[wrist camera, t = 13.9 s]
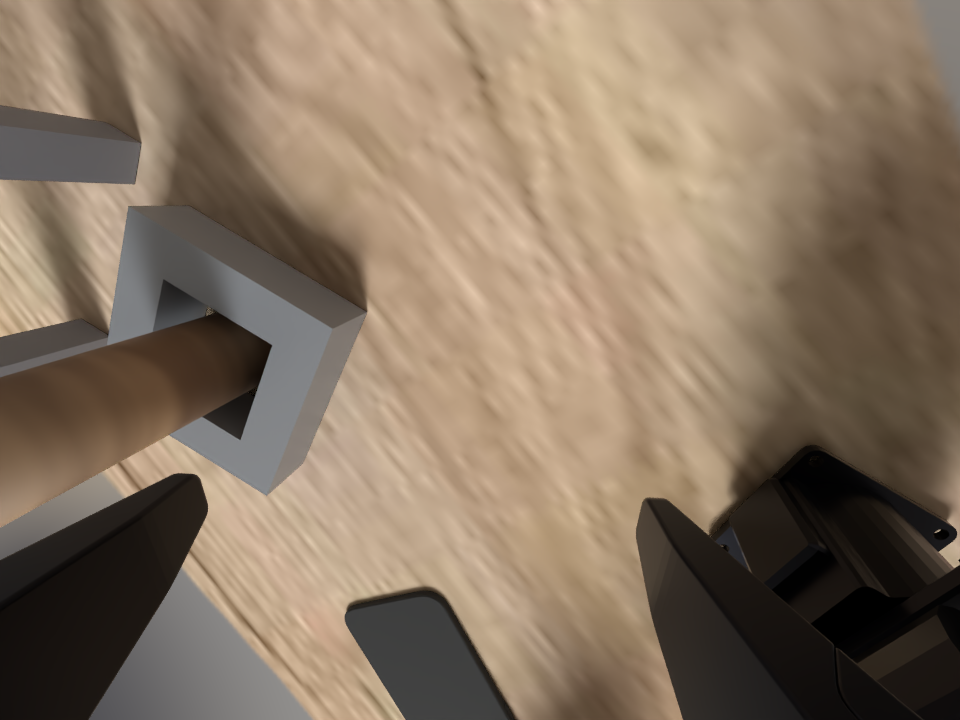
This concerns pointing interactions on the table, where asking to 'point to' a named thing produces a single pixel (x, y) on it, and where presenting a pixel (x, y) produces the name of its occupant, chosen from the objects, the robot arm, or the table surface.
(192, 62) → the table surface
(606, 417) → the table surface
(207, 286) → the socket
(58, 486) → the peg
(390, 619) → the phone
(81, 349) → the teal topped stool
